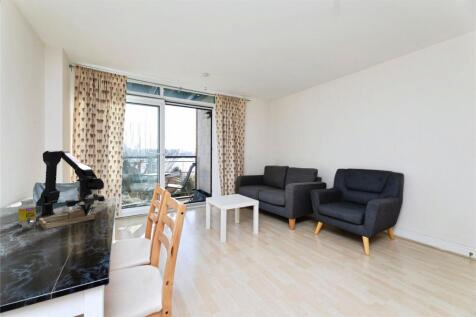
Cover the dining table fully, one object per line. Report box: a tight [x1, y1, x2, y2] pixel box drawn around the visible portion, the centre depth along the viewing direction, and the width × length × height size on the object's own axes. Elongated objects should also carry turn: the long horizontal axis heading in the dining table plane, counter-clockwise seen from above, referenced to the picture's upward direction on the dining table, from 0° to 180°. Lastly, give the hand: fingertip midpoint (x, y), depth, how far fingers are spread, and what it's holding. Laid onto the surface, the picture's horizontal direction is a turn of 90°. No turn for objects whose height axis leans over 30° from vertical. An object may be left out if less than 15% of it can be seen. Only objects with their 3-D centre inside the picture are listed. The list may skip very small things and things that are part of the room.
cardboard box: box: [67, 208, 84, 219], centre depth 121 cm, size 6×6×5 cm
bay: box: [38, 212, 95, 230], centre depth 118 cm, size 13×22×3 cm, turn 141°
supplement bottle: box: [18, 198, 37, 226], centre depth 114 cm, size 7×7×13 cm
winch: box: [21, 217, 35, 232], centre depth 105 cm, size 6×4×7 cm
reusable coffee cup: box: [76, 185, 99, 209], centre depth 147 cm, size 13×12×15 cm
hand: (85, 214), depth 125 cm, fingers closed
